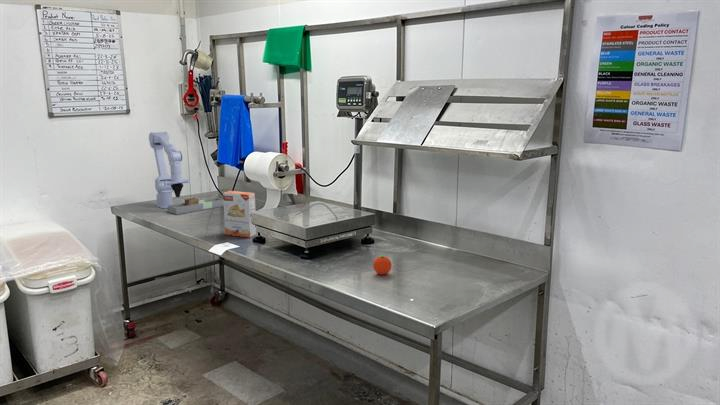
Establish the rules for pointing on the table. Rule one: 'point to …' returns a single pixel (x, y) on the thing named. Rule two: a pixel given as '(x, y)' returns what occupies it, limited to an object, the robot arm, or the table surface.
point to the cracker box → (239, 213)
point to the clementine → (382, 265)
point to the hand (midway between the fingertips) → (177, 197)
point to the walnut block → (191, 201)
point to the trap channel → (196, 206)
